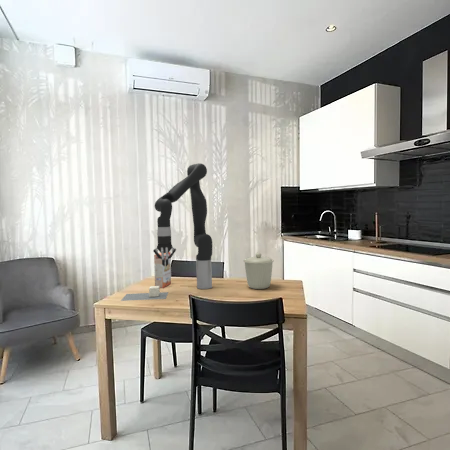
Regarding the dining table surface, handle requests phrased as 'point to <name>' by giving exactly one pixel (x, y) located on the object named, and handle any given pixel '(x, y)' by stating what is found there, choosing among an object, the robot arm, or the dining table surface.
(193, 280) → the dining table surface
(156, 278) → the cracker box
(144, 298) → the mat
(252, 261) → the canister
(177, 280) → the dining table surface
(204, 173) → the robot arm
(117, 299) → the dining table surface
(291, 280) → the dining table surface
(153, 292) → the cube
